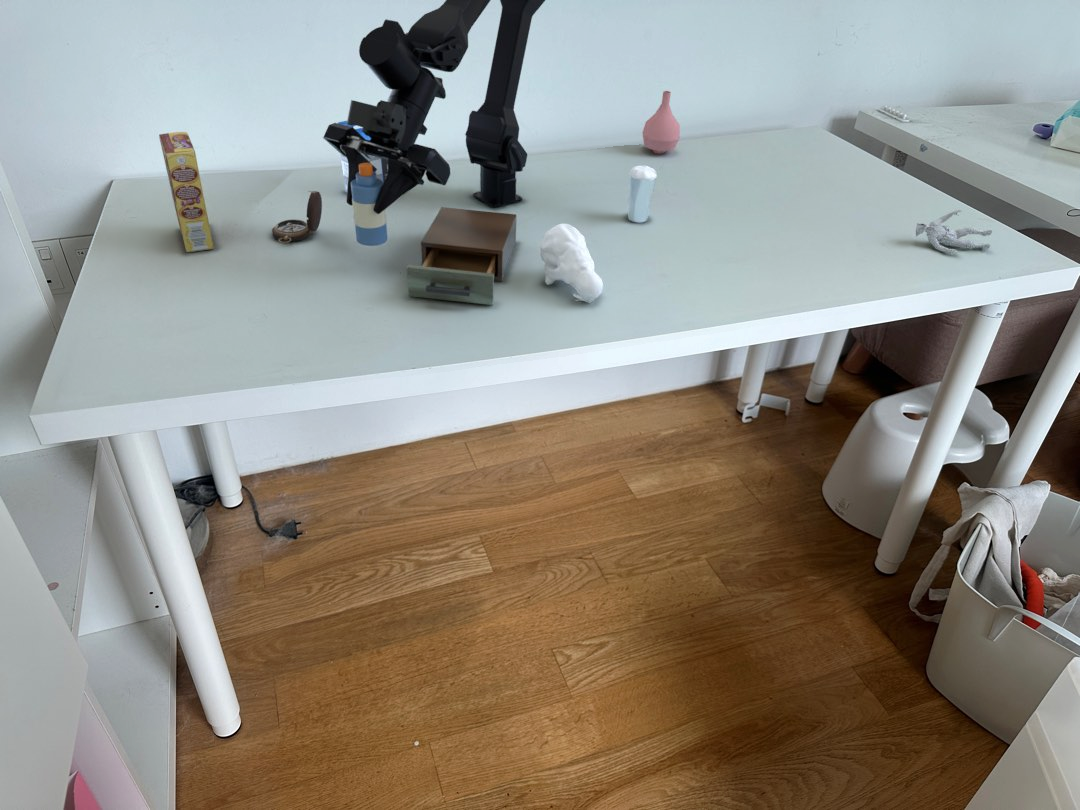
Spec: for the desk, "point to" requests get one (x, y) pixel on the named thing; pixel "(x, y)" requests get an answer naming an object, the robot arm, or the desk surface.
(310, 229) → the compass
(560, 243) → the white animal figurine
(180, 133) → the candy box
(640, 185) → the milkshake
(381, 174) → the label tape box
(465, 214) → the drawer unit
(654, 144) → the pink vase
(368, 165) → the glue bottle
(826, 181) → the desk surface
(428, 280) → the drawer
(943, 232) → the soldier figure
